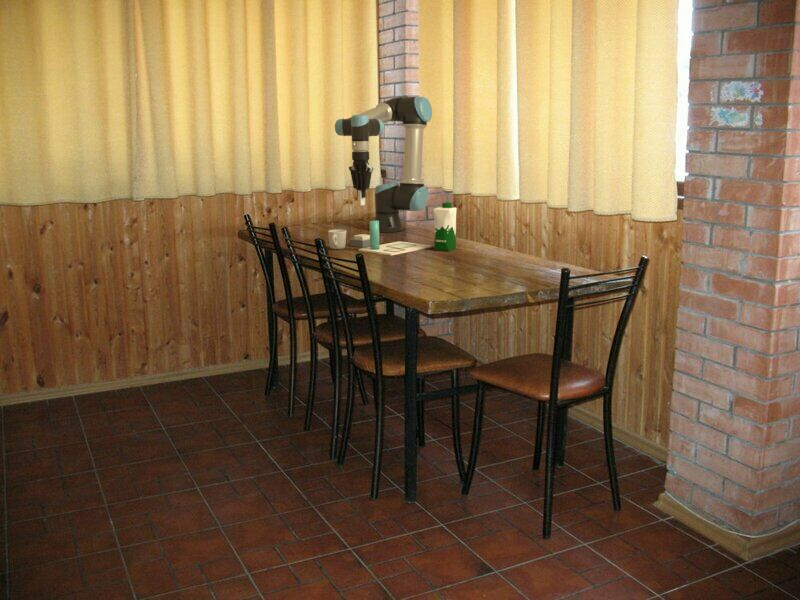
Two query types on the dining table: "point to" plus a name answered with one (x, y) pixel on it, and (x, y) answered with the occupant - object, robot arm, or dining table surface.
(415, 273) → the dining table surface
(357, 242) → the button housing
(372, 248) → the teal cylinder
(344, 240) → the cup
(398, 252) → the picture board
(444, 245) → the milk carton
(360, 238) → the button
